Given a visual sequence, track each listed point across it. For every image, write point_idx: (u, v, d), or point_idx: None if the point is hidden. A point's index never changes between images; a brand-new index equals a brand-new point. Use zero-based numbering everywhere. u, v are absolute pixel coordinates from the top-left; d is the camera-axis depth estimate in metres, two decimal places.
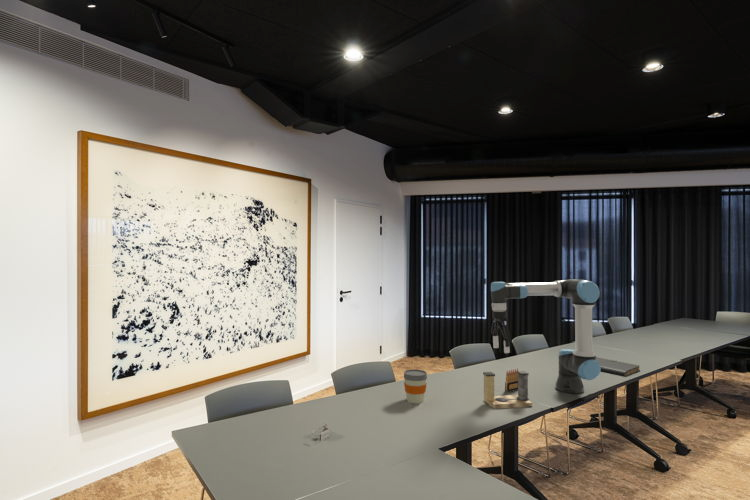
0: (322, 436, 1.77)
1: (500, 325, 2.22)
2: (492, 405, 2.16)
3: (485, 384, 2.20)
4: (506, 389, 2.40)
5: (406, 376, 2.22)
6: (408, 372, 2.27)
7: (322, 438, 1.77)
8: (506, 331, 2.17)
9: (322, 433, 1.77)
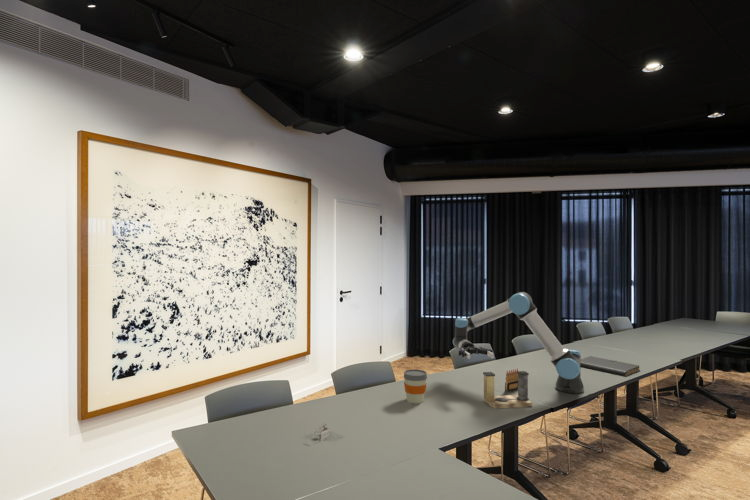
0: (322, 436, 1.77)
1: (467, 352, 2.44)
2: (492, 405, 2.16)
3: (485, 384, 2.20)
4: (506, 389, 2.40)
5: (406, 376, 2.22)
6: (408, 372, 2.27)
7: (322, 438, 1.77)
8: None
9: (322, 433, 1.77)
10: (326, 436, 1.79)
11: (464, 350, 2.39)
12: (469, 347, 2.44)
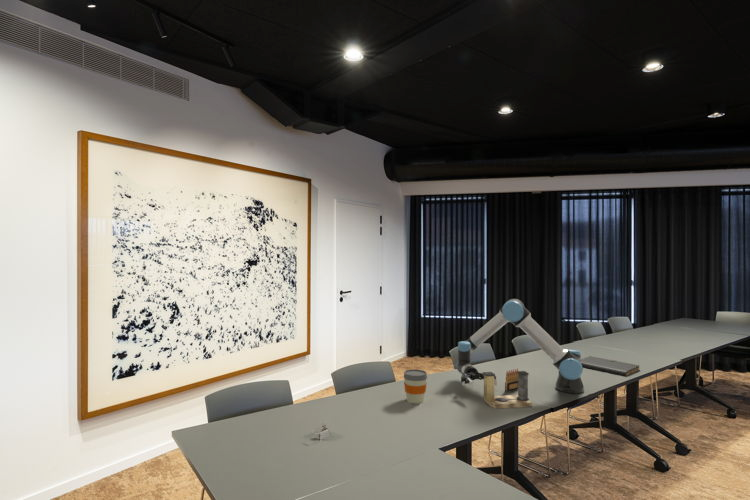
0: (321, 436, 1.77)
1: None
2: (492, 405, 2.16)
3: (485, 384, 2.20)
4: (506, 389, 2.40)
5: (406, 376, 2.22)
6: (408, 372, 2.27)
7: (321, 438, 1.77)
8: None
9: (321, 433, 1.77)
10: (325, 436, 1.79)
11: (466, 376, 2.33)
12: (472, 373, 2.38)
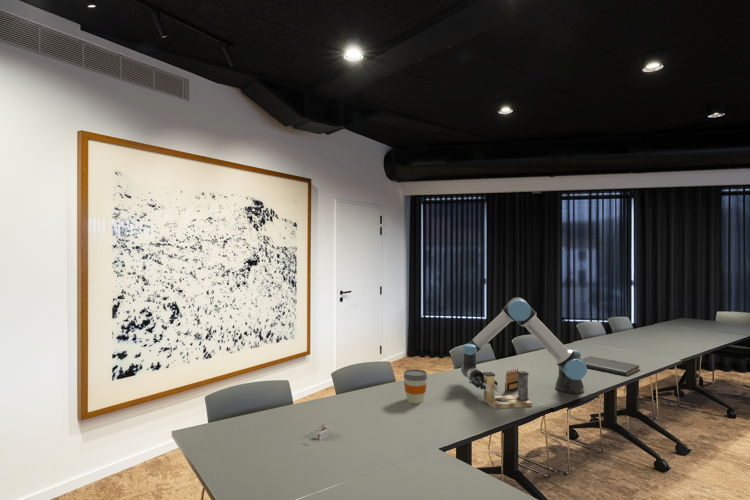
0: (320, 436, 1.77)
1: None
2: (492, 405, 2.16)
3: None
4: (506, 389, 2.40)
5: (406, 376, 2.22)
6: (408, 372, 2.27)
7: (320, 438, 1.77)
8: (473, 383, 2.25)
9: (320, 433, 1.77)
10: (325, 436, 1.79)
11: (480, 381, 2.24)
12: (479, 377, 2.30)
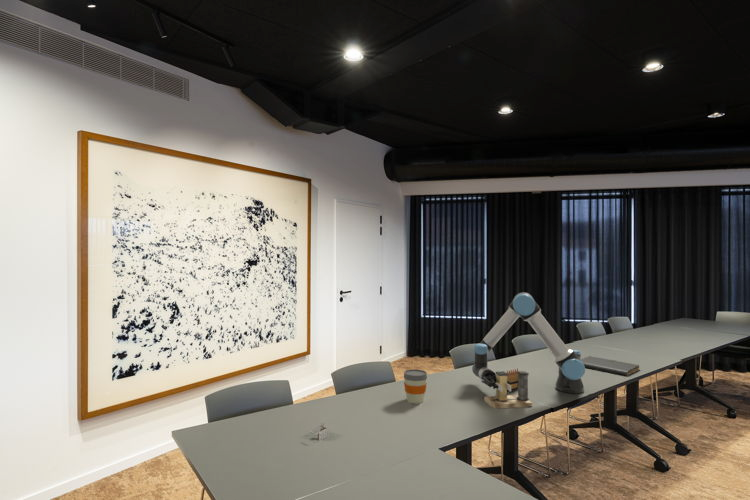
0: (320, 435, 1.77)
1: (490, 382, 2.30)
2: (492, 405, 2.16)
3: (498, 383, 2.21)
4: None
5: (406, 376, 2.22)
6: (408, 372, 2.27)
7: (320, 437, 1.77)
8: (486, 383, 2.26)
9: (320, 432, 1.77)
10: (324, 435, 1.79)
11: (493, 381, 2.25)
12: (491, 376, 2.31)
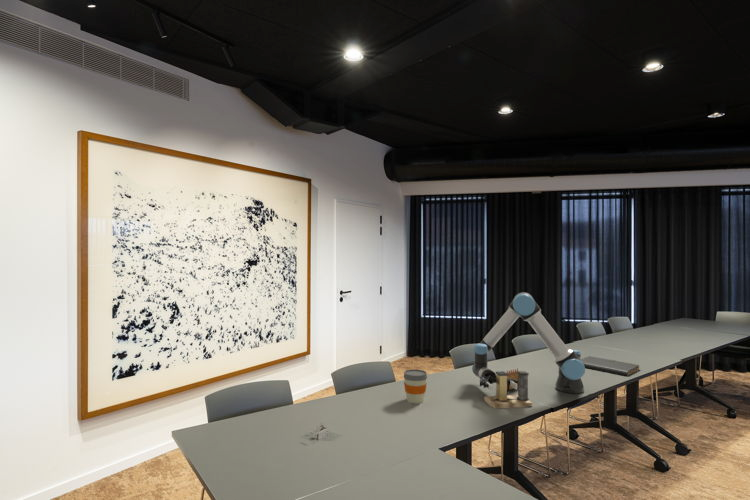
0: (319, 435, 1.77)
1: (488, 381, 2.31)
2: (492, 405, 2.16)
3: (498, 383, 2.21)
4: None
5: (406, 376, 2.22)
6: (408, 372, 2.27)
7: (319, 437, 1.77)
8: None
9: (319, 432, 1.77)
10: (324, 435, 1.79)
11: (485, 380, 2.26)
12: (490, 376, 2.31)
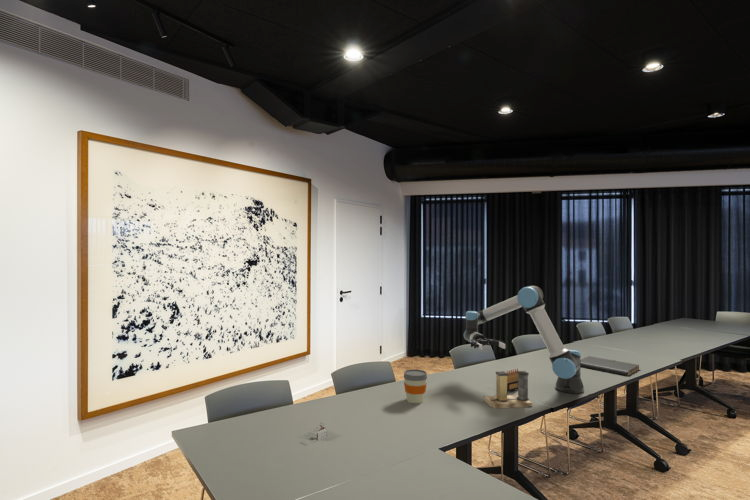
0: (319, 435, 1.77)
1: None
2: (492, 405, 2.16)
3: (498, 383, 2.21)
4: None
5: (406, 376, 2.22)
6: (408, 372, 2.27)
7: (319, 437, 1.77)
8: None
9: (319, 432, 1.77)
10: (323, 435, 1.79)
11: (476, 342, 2.42)
12: (480, 339, 2.47)
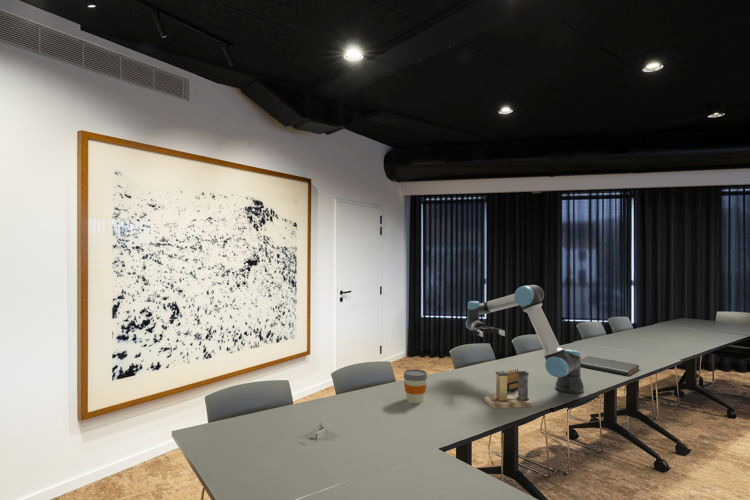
0: (318, 435, 1.78)
1: None
2: (492, 405, 2.16)
3: (498, 383, 2.21)
4: None
5: (406, 376, 2.22)
6: (408, 372, 2.27)
7: (318, 437, 1.78)
8: None
9: (318, 432, 1.78)
10: (323, 435, 1.80)
11: (477, 329, 2.54)
12: (481, 327, 2.59)
